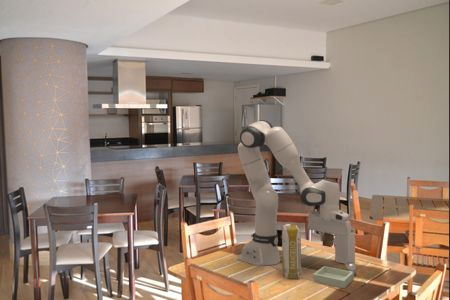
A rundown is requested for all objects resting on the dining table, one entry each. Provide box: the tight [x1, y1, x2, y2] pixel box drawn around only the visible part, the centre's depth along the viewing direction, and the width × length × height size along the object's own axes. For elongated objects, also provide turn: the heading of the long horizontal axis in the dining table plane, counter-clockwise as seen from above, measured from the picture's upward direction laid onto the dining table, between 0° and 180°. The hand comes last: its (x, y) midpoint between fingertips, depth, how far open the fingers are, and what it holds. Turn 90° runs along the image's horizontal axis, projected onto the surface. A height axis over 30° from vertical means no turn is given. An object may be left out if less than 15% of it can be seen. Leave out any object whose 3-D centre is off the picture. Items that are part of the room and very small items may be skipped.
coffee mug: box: [277, 225, 284, 248], centre depth 229 cm, size 12×9×10 cm
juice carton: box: [281, 223, 302, 279], centre depth 183 cm, size 9×8×24 cm
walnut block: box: [322, 233, 335, 248], centre depth 189 cm, size 4×4×5 cm
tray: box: [312, 265, 355, 289], centre depth 177 cm, size 14×12×3 cm
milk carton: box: [334, 225, 356, 265], centre depth 199 cm, size 7×7×19 cm
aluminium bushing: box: [345, 262, 357, 277], centre depth 183 cm, size 4×4×5 cm
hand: (328, 242), depth 189 cm, fingers closed on walnut block, 4 cm apart
